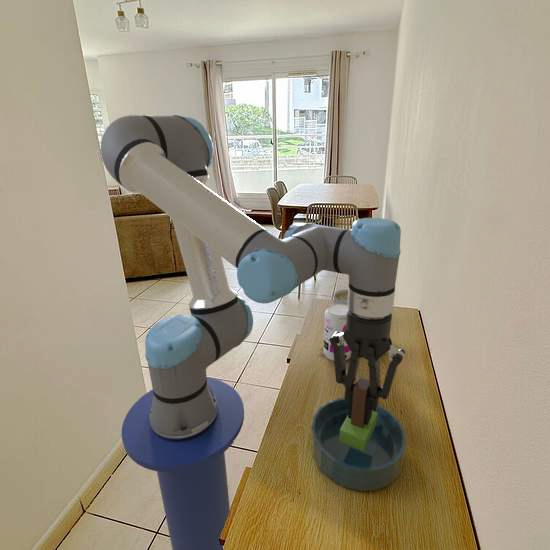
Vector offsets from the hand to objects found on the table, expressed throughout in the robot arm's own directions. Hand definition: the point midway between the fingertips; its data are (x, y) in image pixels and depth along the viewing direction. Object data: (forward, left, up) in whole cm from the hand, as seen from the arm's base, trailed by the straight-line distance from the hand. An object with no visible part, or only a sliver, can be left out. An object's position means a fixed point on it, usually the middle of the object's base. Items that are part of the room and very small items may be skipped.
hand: (359, 416), depth 69 cm
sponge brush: (0, 0, -4) cm, 4 cm away
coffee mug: (-20, +48, -10) cm, 53 cm away
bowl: (0, 0, -9) cm, 9 cm away
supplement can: (-16, +30, -10) cm, 35 cm away
